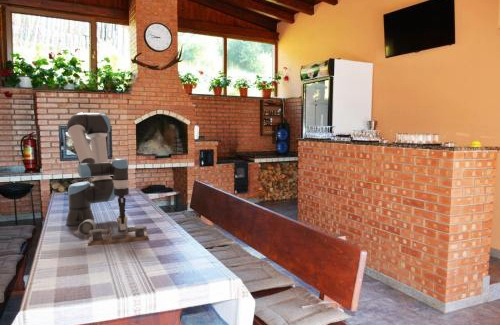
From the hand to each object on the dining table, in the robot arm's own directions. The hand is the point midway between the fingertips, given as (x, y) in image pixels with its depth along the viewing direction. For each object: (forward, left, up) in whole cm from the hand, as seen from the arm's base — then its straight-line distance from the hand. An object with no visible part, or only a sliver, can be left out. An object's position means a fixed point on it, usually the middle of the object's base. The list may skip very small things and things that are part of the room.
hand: (122, 226), depth 211 cm
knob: (0, 0, -2) cm, 2 cm away
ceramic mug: (-13, -13, -3) cm, 19 cm away
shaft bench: (+10, -13, -2) cm, 16 cm away
